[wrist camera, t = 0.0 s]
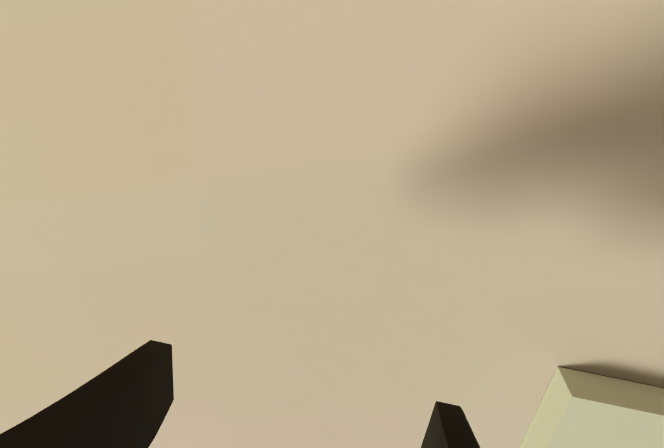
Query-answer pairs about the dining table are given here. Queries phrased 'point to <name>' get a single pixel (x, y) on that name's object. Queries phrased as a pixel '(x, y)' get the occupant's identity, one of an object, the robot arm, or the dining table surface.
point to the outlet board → (597, 413)
